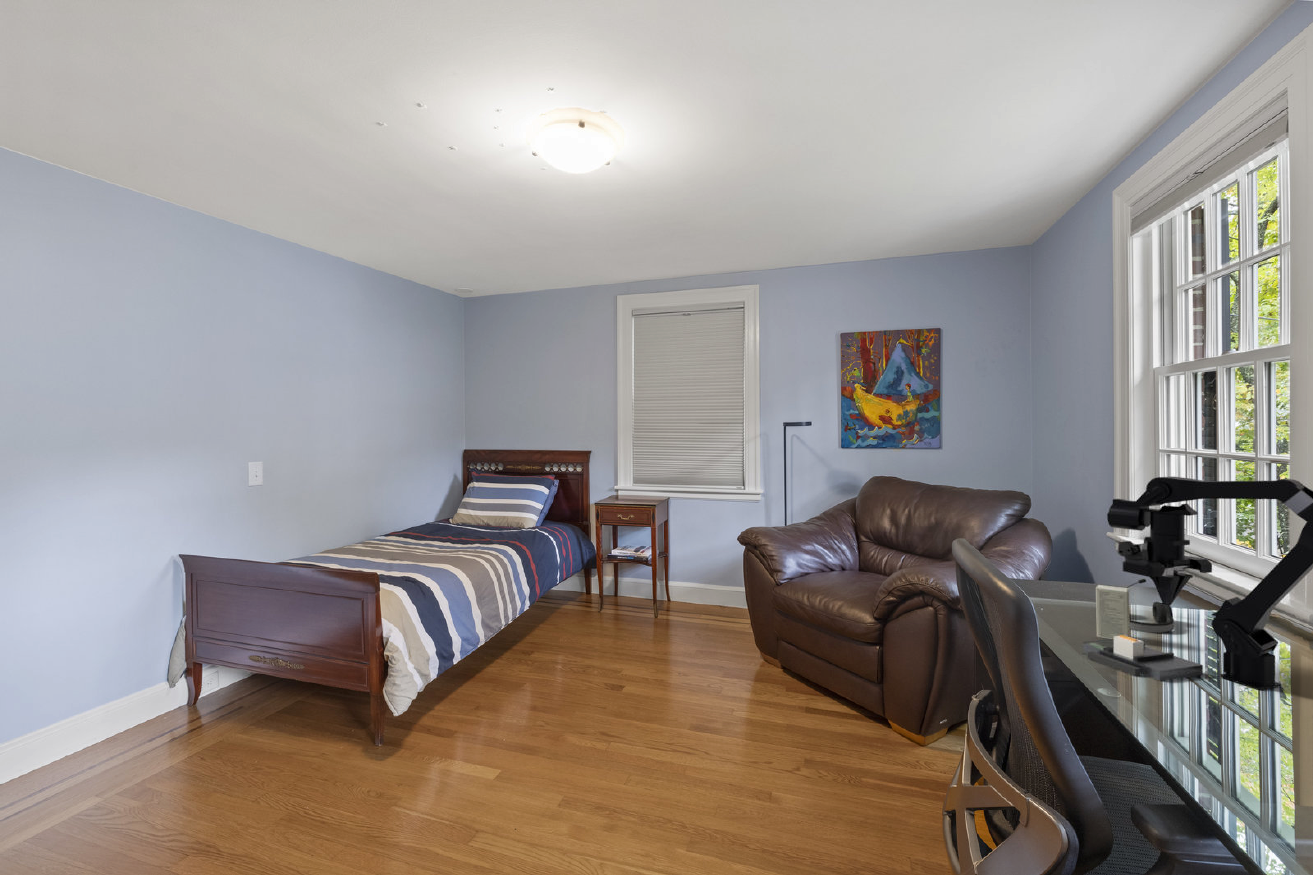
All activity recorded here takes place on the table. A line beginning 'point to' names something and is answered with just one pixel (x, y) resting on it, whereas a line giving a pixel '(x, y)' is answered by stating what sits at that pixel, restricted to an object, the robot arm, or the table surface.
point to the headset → (1161, 617)
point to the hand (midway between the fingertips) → (1166, 605)
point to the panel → (1150, 661)
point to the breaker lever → (1128, 646)
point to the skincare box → (1112, 611)
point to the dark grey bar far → (1098, 641)
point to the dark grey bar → (1114, 663)
